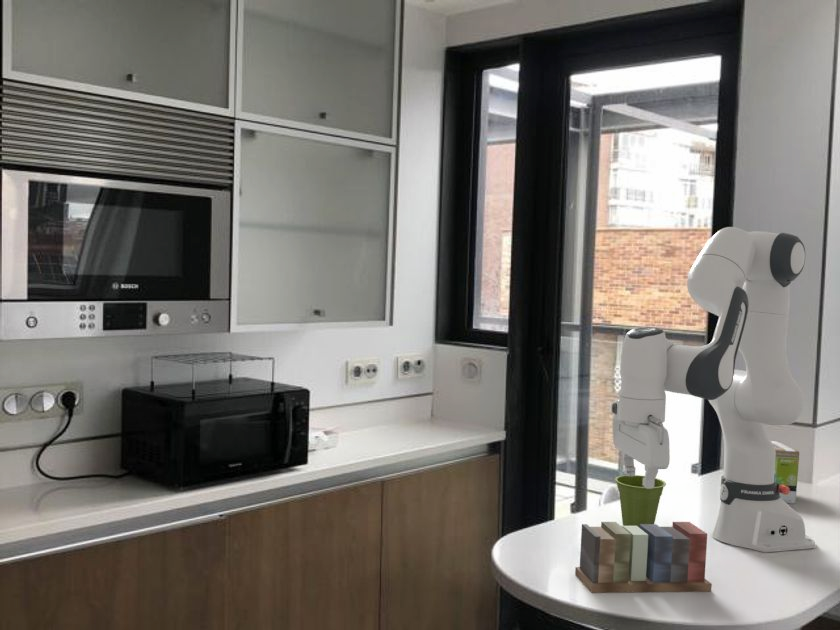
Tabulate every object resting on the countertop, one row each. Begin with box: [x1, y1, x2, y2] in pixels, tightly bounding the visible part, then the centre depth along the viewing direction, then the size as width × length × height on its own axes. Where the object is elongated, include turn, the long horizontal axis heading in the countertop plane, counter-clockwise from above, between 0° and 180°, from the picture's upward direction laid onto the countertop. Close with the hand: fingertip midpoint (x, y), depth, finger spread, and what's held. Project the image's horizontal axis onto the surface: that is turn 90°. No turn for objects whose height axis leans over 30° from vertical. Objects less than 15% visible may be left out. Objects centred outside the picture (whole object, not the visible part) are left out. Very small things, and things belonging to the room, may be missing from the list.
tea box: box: [770, 440, 800, 504], centre depth 249 cm, size 15×10×15 cm, turn 179°
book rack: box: [574, 521, 713, 594], centre depth 174 cm, size 24×10×11 cm, turn 98°
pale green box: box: [621, 525, 648, 581], centre depth 174 cm, size 3×6×9 cm, turn 8°
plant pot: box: [614, 474, 667, 527], centre depth 213 cm, size 12×12×11 cm
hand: (638, 481), depth 173 cm, fingers open, 8 cm apart
